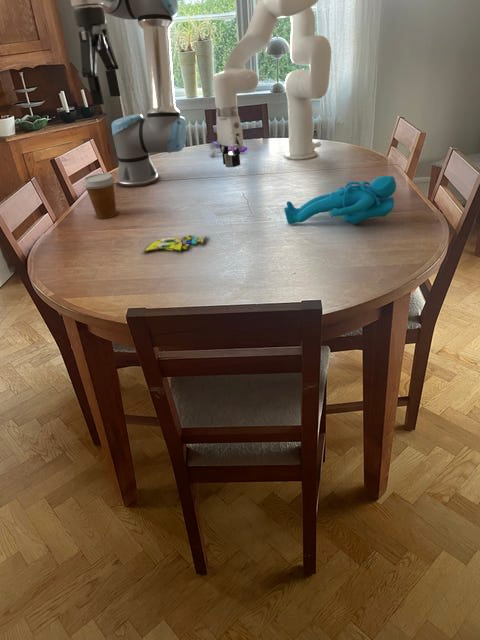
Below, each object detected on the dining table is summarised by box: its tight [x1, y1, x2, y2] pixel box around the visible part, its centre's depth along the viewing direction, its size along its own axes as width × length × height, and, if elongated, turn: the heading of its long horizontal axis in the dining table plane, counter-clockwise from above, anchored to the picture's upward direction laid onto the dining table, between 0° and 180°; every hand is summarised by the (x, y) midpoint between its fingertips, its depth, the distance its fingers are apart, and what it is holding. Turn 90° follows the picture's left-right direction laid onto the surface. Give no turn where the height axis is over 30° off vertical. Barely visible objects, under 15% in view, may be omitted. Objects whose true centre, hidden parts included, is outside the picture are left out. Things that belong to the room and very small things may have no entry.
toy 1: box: [144, 234, 207, 254], centre depth 130 cm, size 10×1×15 cm
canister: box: [224, 151, 234, 168], centre depth 176 cm, size 5×5×4 cm
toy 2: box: [283, 175, 397, 225], centre depth 132 cm, size 17×11×30 cm
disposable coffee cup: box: [83, 172, 117, 219], centre depth 152 cm, size 10×10×12 cm
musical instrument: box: [210, 141, 248, 157], centre depth 213 cm, size 24×2×20 cm
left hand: (107, 100), depth 131 cm, fingers open, 13 cm apart
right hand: (231, 164), depth 177 cm, fingers closed on canister, 4 cm apart
